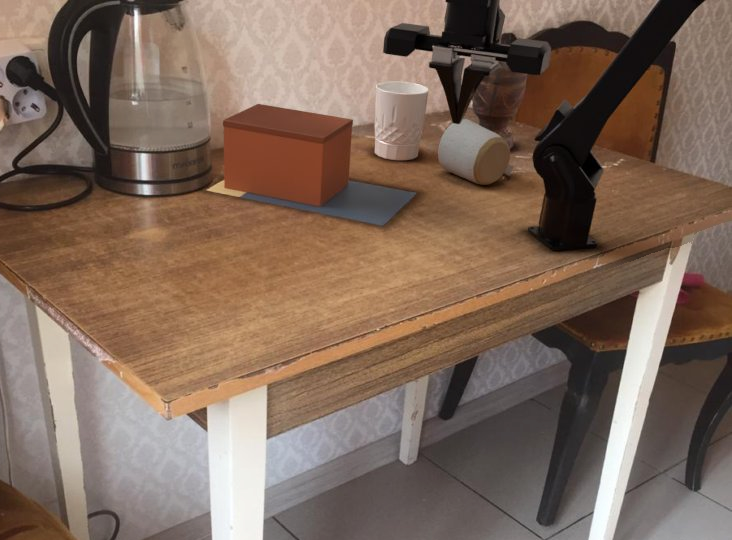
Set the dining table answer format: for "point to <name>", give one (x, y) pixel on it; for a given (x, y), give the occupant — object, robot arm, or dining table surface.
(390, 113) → the white cup
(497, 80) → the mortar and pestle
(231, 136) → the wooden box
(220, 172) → the dining table surface
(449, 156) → the ceramic mug
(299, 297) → the dining table surface
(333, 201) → the mat
